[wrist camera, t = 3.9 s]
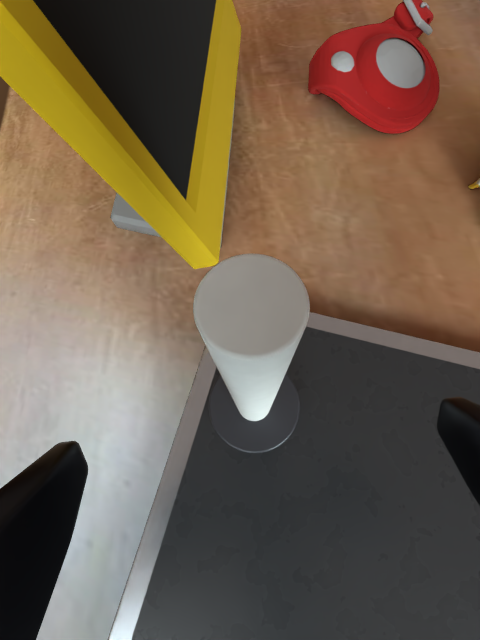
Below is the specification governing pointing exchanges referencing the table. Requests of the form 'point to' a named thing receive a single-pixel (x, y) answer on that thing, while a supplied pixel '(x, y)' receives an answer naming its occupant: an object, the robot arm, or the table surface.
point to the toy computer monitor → (137, 103)
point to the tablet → (318, 507)
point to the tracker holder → (380, 70)
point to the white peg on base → (252, 347)
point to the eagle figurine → (475, 184)
